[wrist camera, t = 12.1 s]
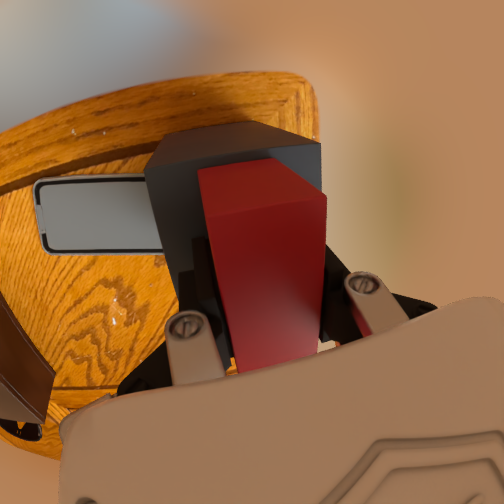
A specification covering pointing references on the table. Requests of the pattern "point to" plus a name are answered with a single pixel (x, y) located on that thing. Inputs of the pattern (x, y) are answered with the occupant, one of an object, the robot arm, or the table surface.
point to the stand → (210, 155)
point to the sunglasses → (22, 430)
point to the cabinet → (22, 373)
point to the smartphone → (96, 215)
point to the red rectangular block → (266, 258)
